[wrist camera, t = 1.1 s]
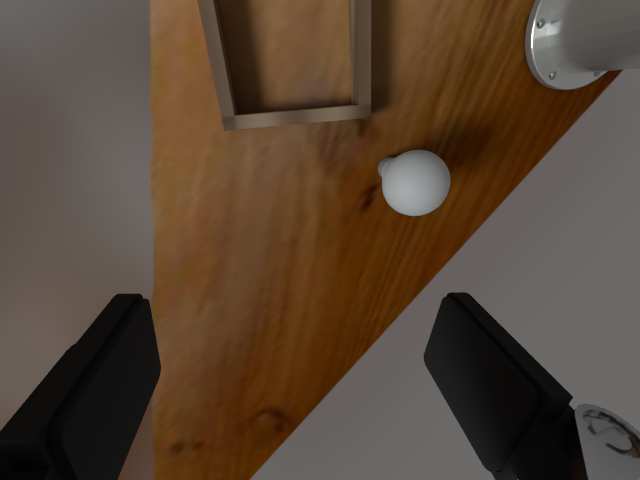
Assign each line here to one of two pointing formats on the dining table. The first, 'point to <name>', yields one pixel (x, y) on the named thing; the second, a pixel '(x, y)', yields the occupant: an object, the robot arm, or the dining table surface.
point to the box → (358, 109)
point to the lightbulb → (414, 182)
